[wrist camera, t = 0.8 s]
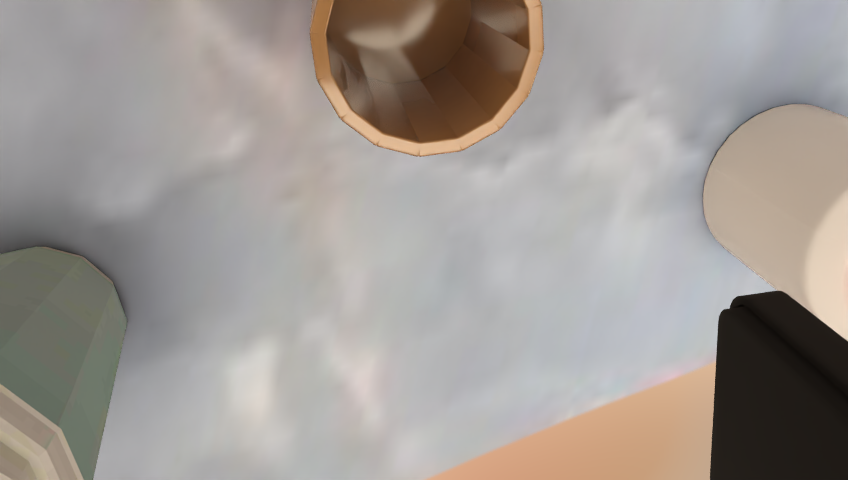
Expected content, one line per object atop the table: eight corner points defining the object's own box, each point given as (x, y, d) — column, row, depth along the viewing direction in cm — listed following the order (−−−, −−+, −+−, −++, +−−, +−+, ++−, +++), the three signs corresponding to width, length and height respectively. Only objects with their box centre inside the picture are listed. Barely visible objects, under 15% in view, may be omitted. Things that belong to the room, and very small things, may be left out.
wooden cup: (301, -73, 30) (293, -70, 21) (472, -91, 31) (538, -97, 22) (326, 100, 33) (330, 169, 24) (484, 80, 33) (548, 140, 24)
